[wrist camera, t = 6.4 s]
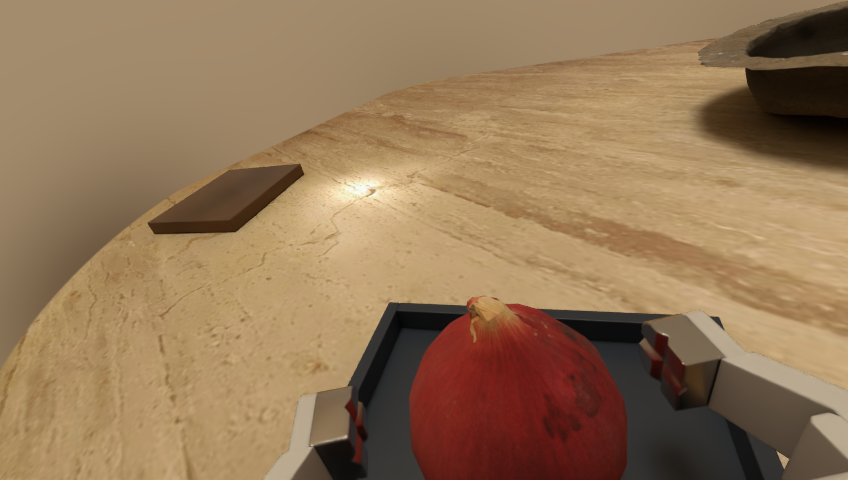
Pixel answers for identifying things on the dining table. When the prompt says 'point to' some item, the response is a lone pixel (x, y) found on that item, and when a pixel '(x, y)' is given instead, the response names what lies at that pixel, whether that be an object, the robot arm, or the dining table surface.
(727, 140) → the dining table surface
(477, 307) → the onion
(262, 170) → the board
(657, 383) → the tray
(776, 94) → the stone bowl
